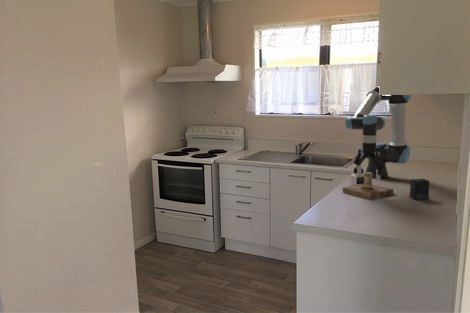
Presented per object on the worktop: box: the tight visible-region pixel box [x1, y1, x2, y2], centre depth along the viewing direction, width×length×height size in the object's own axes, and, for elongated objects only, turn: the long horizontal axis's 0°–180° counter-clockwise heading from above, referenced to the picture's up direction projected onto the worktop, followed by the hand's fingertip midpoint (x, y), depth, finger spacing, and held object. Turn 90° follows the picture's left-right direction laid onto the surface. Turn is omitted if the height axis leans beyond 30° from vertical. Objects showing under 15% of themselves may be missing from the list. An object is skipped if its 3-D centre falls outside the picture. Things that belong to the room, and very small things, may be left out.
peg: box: [363, 171, 373, 190], centre depth 227 cm, size 4×4×12 cm
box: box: [409, 178, 430, 201], centre depth 213 cm, size 8×6×11 cm
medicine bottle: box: [350, 166, 365, 186], centre depth 244 cm, size 7×7×12 cm
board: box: [342, 183, 395, 200], centre depth 227 cm, size 20×20×3 cm
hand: (368, 178), depth 227 cm, fingers open, 13 cm apart
